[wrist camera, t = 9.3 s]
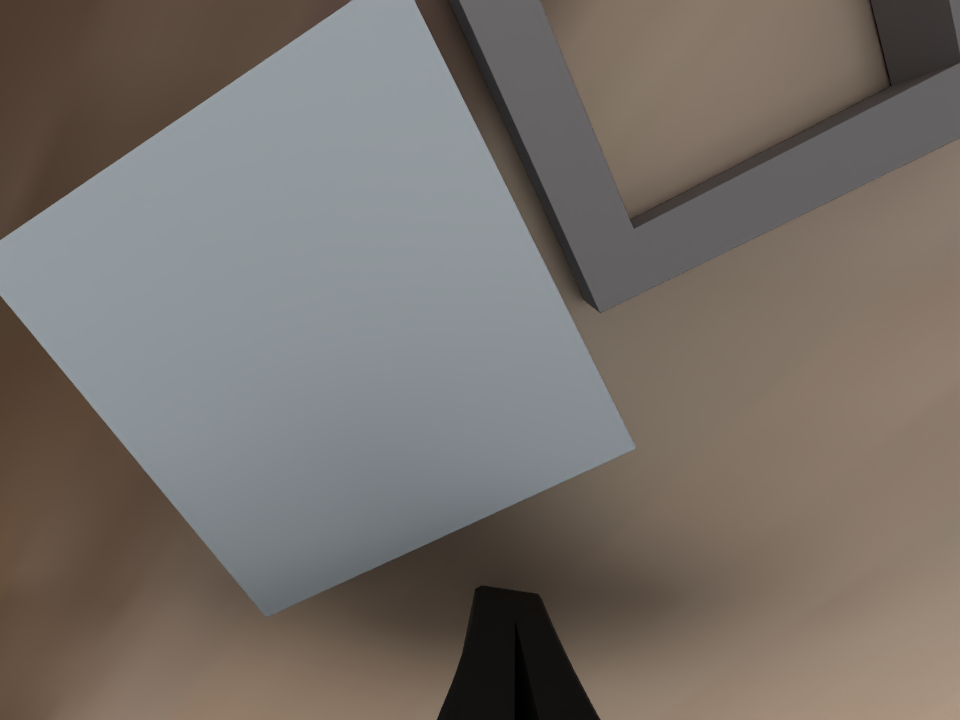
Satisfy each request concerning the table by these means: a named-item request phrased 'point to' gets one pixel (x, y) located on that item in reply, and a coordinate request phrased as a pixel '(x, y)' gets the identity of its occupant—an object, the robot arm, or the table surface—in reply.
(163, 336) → the plate
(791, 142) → the socket
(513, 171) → the table surface
